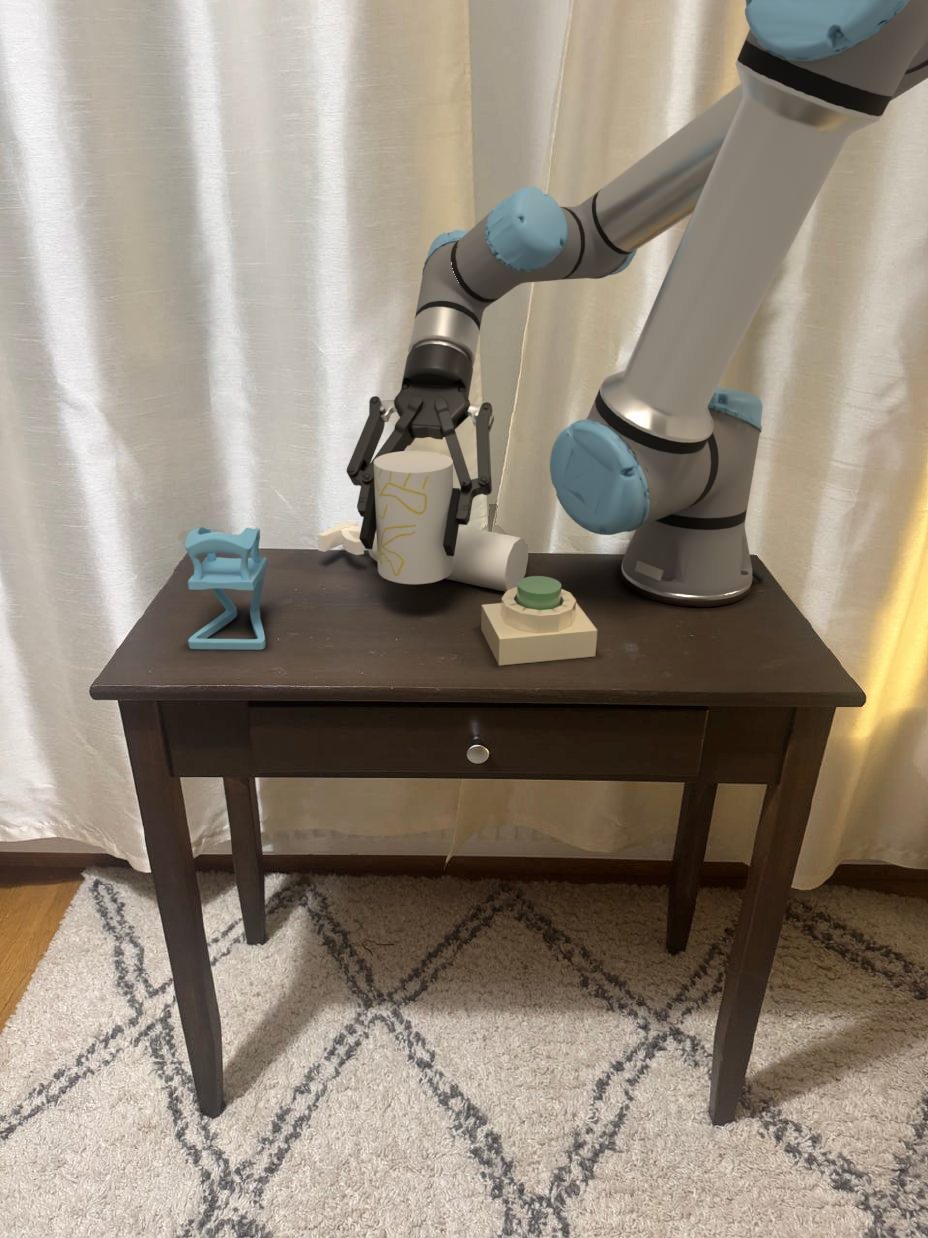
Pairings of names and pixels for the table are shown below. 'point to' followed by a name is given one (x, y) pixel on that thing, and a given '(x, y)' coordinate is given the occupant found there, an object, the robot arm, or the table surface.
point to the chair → (227, 582)
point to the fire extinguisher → (455, 554)
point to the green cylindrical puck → (539, 593)
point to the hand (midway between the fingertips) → (406, 547)
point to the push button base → (537, 631)
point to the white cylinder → (412, 515)
